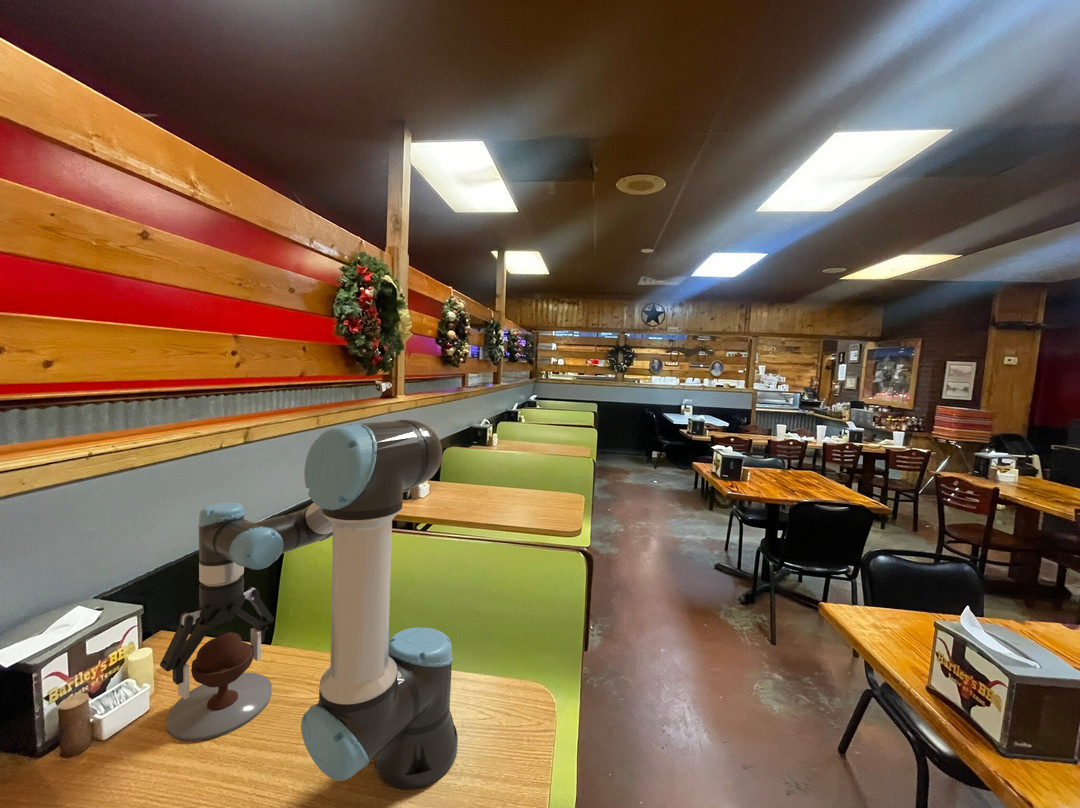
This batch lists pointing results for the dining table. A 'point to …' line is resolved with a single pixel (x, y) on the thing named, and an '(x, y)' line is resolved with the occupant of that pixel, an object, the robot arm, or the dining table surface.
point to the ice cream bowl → (222, 667)
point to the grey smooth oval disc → (202, 723)
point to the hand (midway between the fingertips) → (222, 675)
